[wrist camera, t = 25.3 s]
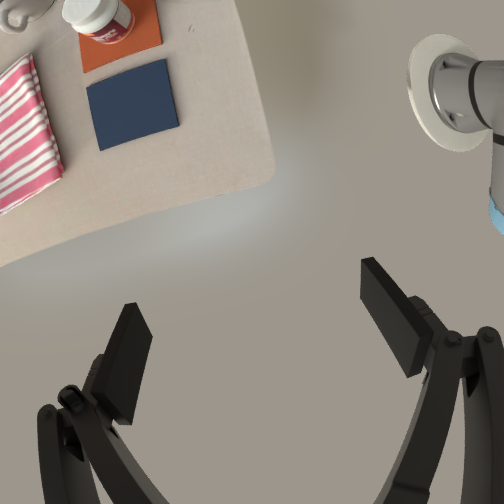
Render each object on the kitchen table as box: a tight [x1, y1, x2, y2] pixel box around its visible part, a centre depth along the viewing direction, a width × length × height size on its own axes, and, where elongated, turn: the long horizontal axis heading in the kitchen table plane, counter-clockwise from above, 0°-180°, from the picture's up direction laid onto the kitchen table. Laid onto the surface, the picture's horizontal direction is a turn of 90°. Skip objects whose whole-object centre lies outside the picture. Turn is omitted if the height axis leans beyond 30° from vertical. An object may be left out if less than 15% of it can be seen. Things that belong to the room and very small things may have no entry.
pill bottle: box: [62, 0, 135, 44], centre depth 22 cm, size 6×6×11 cm
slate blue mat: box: [86, 59, 179, 151], centre depth 33 cm, size 12×10×1 cm
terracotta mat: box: [78, 0, 162, 73], centre depth 27 cm, size 12×11×1 cm
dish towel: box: [0, 53, 65, 216], centre depth 30 cm, size 17×23×4 cm
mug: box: [0, 0, 54, 34], centre depth 17 cm, size 12×8×11 cm
